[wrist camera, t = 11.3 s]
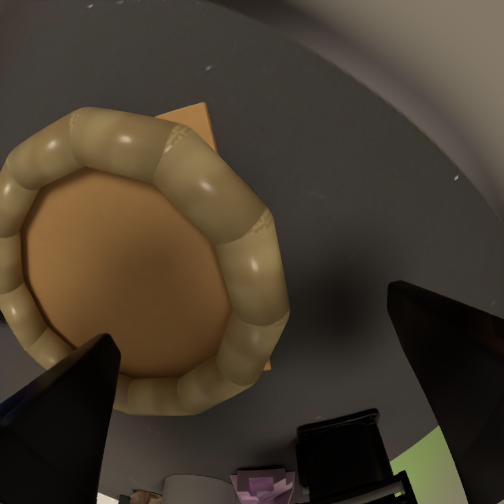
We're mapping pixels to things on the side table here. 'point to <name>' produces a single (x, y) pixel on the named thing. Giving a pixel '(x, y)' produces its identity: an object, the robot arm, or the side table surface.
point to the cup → (197, 490)
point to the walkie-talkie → (124, 500)
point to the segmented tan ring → (193, 207)
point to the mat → (127, 267)
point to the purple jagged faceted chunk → (264, 486)
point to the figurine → (145, 498)
